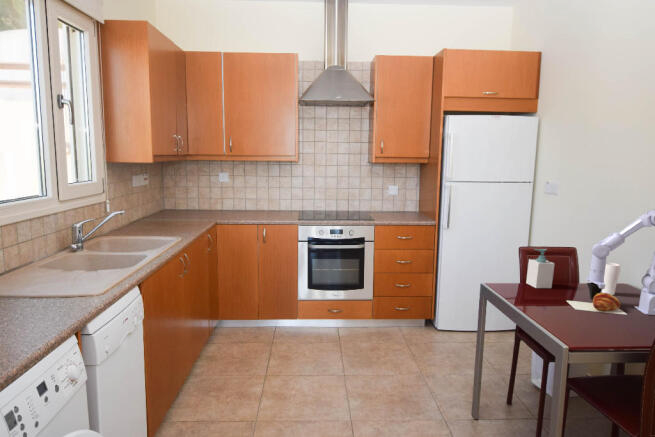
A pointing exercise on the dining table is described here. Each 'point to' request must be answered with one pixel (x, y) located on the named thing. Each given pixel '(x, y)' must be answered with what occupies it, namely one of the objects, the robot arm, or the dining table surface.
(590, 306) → the mat
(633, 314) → the dining table surface
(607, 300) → the croissant
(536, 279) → the soap bottle
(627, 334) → the dining table surface
